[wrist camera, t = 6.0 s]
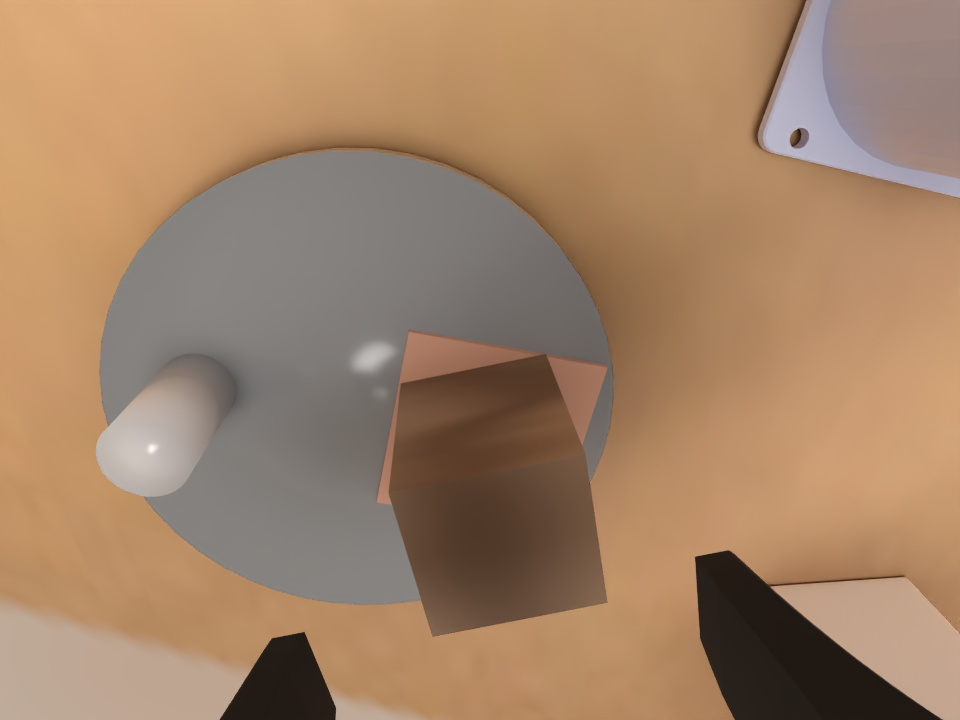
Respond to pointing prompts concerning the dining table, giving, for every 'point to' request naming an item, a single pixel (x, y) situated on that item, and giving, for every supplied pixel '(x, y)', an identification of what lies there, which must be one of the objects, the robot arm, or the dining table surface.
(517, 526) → the walnut block
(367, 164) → the turntable
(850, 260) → the dining table surface
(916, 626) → the milk
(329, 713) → the robot arm
